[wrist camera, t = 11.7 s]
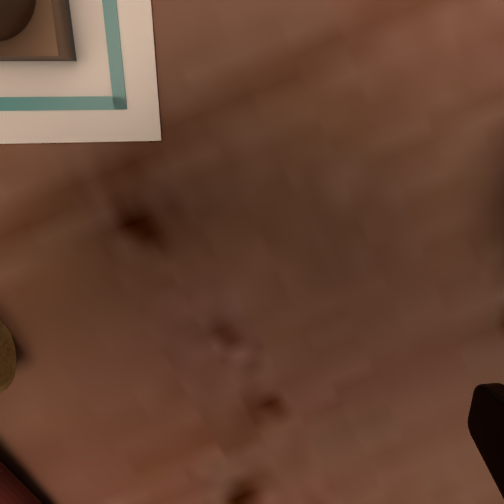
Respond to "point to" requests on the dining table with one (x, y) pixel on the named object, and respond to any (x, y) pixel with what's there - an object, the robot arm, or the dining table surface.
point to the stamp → (36, 31)
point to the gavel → (3, 370)
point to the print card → (88, 82)
